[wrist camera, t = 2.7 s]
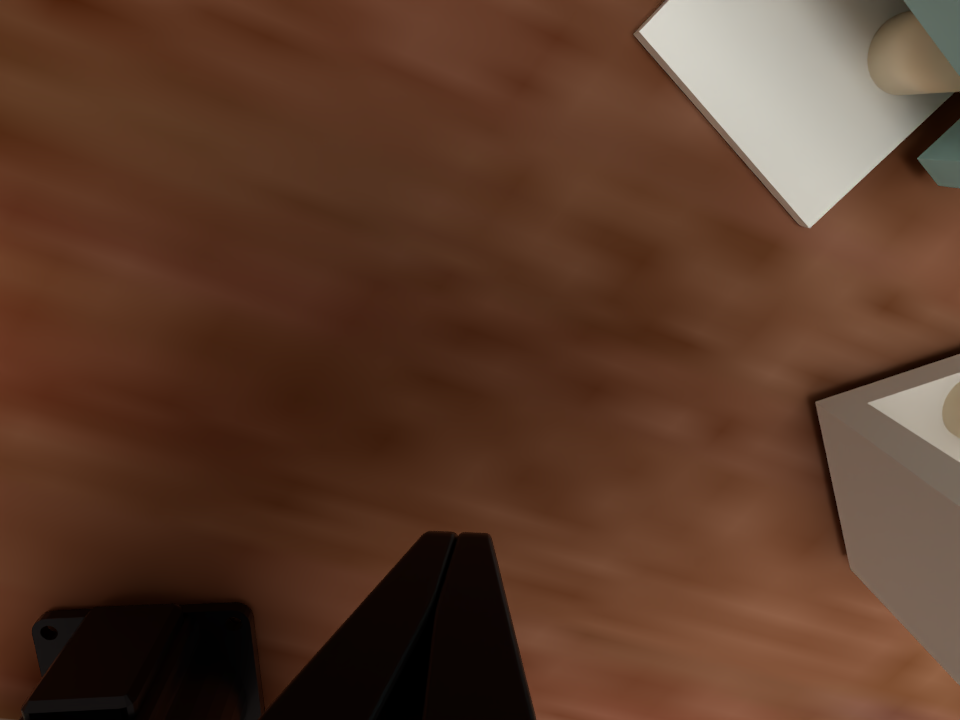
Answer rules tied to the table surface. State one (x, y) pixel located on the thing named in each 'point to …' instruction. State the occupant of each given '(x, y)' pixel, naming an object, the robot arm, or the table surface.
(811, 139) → the board
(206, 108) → the table surface
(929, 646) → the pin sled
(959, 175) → the housing
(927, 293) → the table surface
